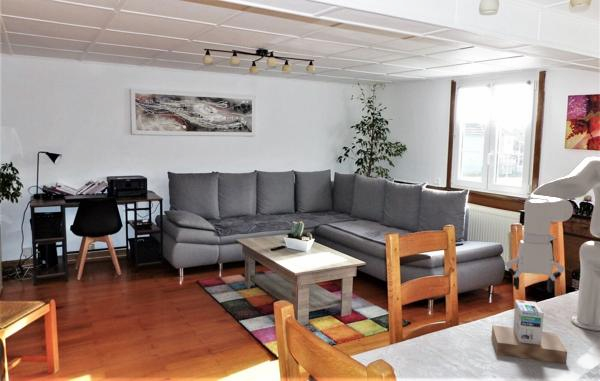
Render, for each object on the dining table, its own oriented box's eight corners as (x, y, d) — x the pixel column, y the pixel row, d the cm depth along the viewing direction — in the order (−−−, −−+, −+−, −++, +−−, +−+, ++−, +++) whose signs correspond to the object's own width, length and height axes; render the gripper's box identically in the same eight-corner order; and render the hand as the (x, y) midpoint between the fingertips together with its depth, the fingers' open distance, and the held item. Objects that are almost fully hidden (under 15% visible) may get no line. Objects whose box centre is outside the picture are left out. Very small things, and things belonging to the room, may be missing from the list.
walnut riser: (555, 344, 157) (556, 333, 157) (566, 363, 144) (567, 351, 143) (491, 336, 163) (492, 325, 162) (496, 354, 149) (497, 342, 149)
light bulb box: (541, 345, 147) (544, 313, 146) (518, 343, 149) (521, 310, 147) (533, 331, 157) (536, 301, 156) (512, 329, 159) (514, 299, 158)
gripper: (563, 237, 150) (559, 288, 152) (505, 234, 155) (502, 283, 157) (569, 243, 143) (565, 296, 145) (508, 239, 147) (505, 291, 150)
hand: (532, 289), depth 151 cm, fingers open, 9 cm apart
